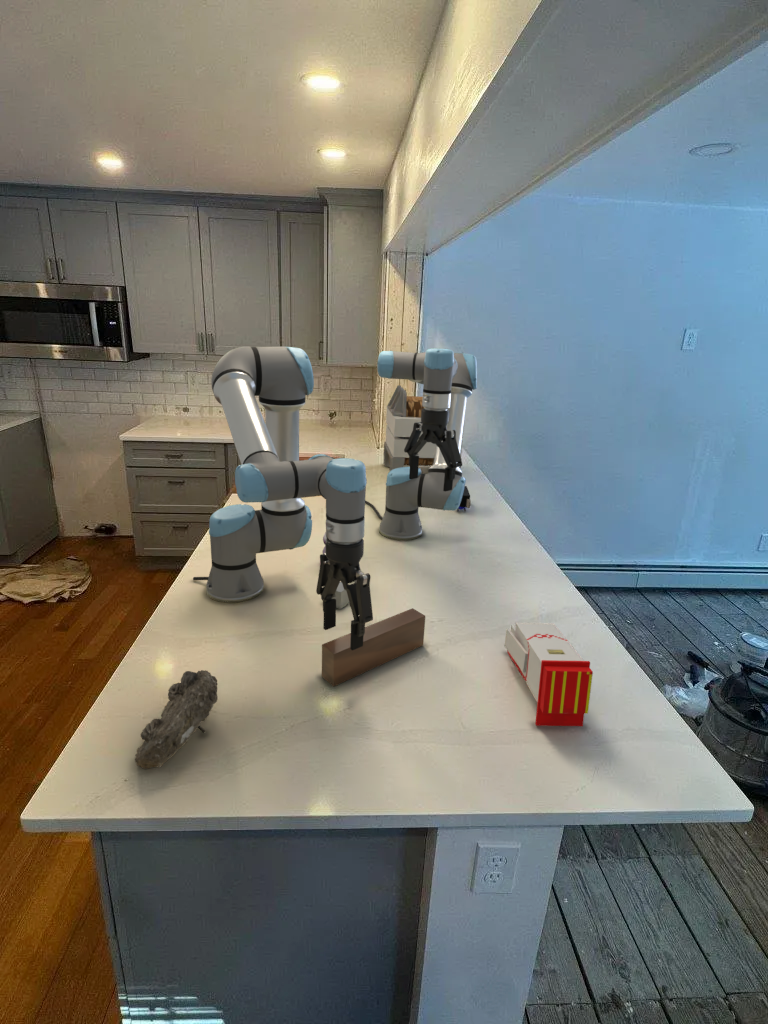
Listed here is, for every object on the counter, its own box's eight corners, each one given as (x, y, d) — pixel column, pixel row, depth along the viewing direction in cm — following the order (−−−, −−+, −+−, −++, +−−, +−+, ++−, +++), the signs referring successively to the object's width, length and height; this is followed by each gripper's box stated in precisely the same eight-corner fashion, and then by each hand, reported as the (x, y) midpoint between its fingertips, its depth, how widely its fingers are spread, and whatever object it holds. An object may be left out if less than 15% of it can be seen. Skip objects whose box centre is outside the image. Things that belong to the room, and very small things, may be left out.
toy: (550, 607, 134) (601, 667, 105) (545, 659, 137) (594, 732, 108) (499, 606, 134) (537, 666, 104) (495, 659, 137) (530, 731, 107)
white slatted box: (382, 463, 289) (386, 382, 275) (445, 464, 293) (451, 384, 279) (390, 482, 257) (394, 392, 243) (460, 483, 261) (468, 394, 247)
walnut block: (321, 676, 121) (321, 644, 119) (410, 637, 137) (412, 608, 135) (333, 686, 118) (334, 654, 116) (423, 645, 134) (425, 615, 132)
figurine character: (470, 516, 223) (465, 500, 237) (473, 499, 220) (467, 484, 233) (453, 516, 223) (449, 500, 236) (455, 498, 220) (451, 483, 233)
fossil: (167, 671, 114) (219, 638, 109) (200, 702, 116) (252, 671, 112) (109, 762, 94) (169, 727, 89) (151, 796, 97) (212, 765, 92)
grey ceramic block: (324, 604, 151) (325, 587, 149) (335, 596, 155) (335, 580, 153) (340, 609, 149) (340, 592, 147) (350, 601, 153) (351, 584, 151)
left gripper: (298, 525, 117) (299, 621, 124) (364, 561, 101) (360, 668, 109) (328, 518, 121) (327, 611, 129) (395, 551, 106) (389, 654, 114)
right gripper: (394, 402, 159) (390, 475, 166) (460, 417, 141) (453, 498, 148) (413, 400, 163) (409, 471, 170) (480, 414, 146) (472, 493, 153)
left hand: (342, 637), depth 119 cm, fingers open, 9 cm apart
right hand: (430, 484), depth 159 cm, fingers open, 13 cm apart
